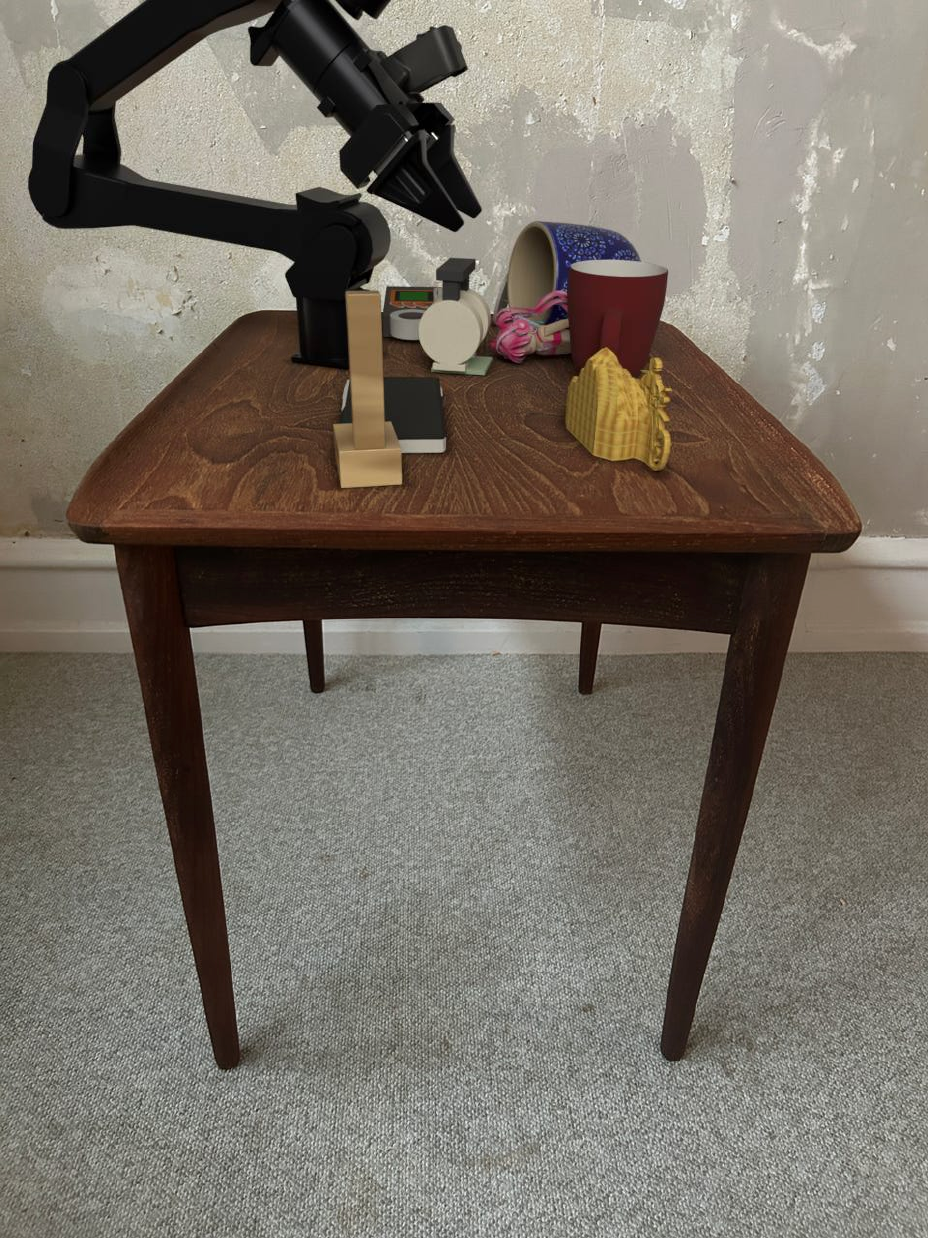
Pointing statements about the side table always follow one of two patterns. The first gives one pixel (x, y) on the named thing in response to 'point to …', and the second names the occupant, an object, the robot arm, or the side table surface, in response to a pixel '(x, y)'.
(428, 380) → the smartphone
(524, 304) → the planter
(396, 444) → the hook stand
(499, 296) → the figurine
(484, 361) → the felt mat
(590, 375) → the figurine
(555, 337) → the toy
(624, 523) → the side table surface
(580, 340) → the mug
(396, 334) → the electronic device
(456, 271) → the headphones
